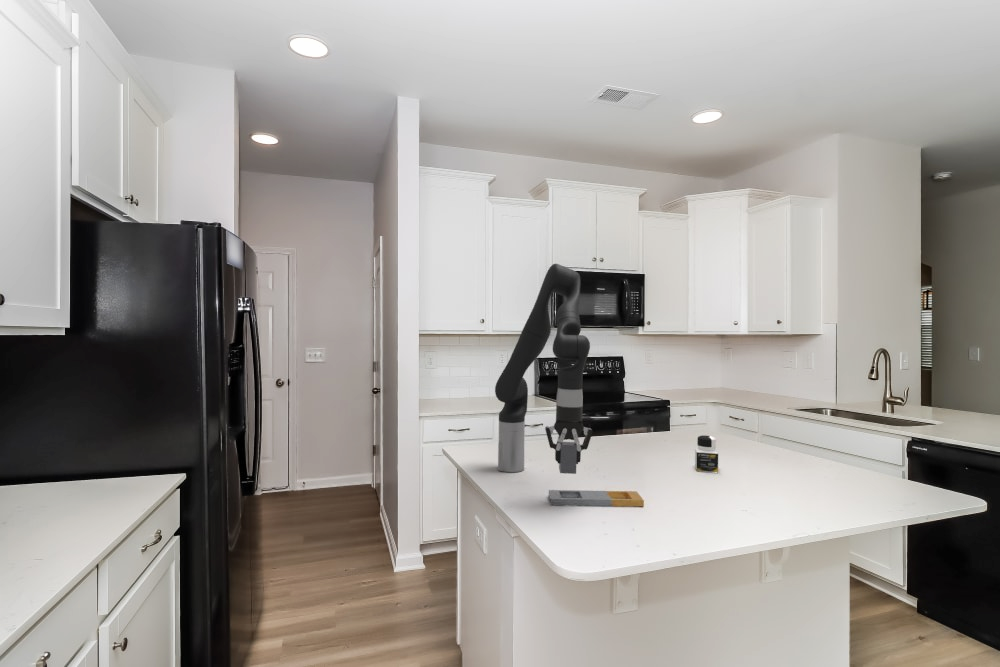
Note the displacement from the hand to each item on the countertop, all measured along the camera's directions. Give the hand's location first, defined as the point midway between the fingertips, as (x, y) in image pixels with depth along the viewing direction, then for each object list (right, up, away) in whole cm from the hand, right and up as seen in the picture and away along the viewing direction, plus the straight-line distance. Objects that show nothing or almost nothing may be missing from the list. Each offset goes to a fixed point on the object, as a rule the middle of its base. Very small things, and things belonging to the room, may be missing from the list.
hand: (567, 462), depth 145 cm
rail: (+8, -11, 0) cm, 14 cm away
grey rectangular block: (0, -2, 0) cm, 2 cm away
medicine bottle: (+54, -12, +35) cm, 66 cm away
